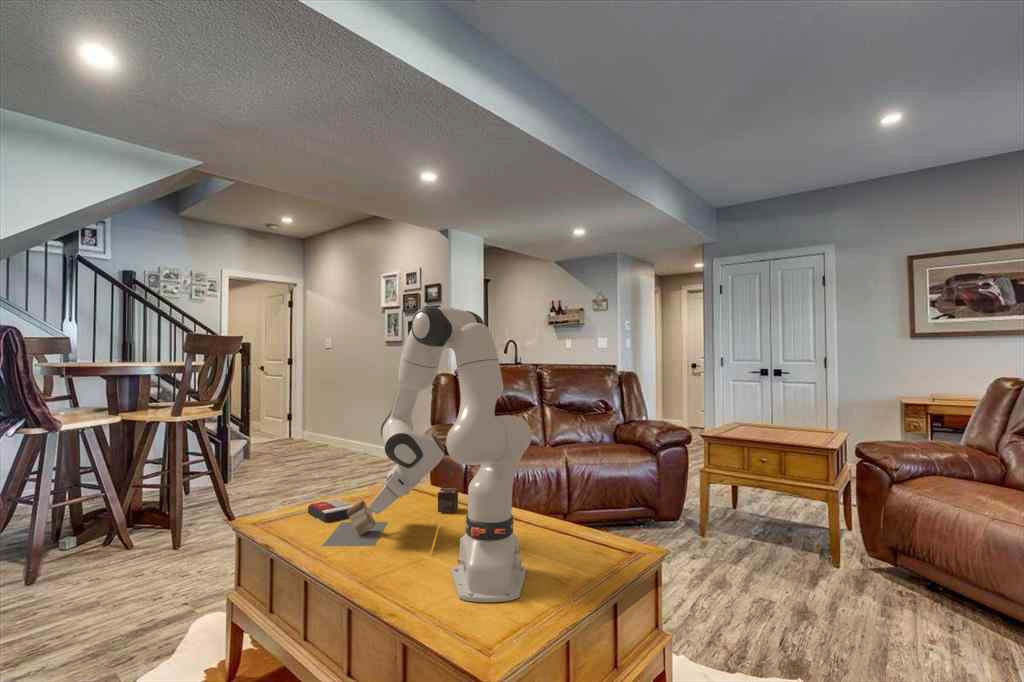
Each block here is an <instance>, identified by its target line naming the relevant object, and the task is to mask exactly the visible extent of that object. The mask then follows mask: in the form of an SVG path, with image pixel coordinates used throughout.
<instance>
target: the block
mask: <svg viewBox="0 0 1024 682" xmlns="http://www.w3.org/2000/svg"><path fill="white" fill-rule="evenodd" d="M367 509H368V506H367V504H366V502H365V501H364V500H361V501H359V502H357V503H355V504H353V506H352V507H351V508H350V509H349V510H348V511H347V512H346V513H347V515H348V516H349V518H348V519H349V520H350V522H352V523H353V525H354V527H355V529H356V530H357V532H358V534H359V536H360V535H362V534H363V533H365V532H367V531H369V530H370V529H372V528H373V527H374V526H375V524H376V522H377V521H376V520H375V518H374V517H373V515H372V514H370V515H368V514H367V513H366V510H367Z"/></svg>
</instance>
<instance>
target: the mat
mask: <svg viewBox="0 0 1024 682" xmlns="http://www.w3.org/2000/svg"><path fill="white" fill-rule="evenodd" d="M375 522H376V524H375V526H374V527H373V528H372V529H370V530H369V531H367V532H365V533H363V534H362V535H360V536H359V534H358V532H357V530H356V529H355V527H354V525H353V523H352V522H351V521H341V523H339V525H338V526H337V527H336V529H335V530H334V531H333V532H332V533H331V535H330V536H329V537H328V538H326V540H325V541H324V542H323V544H322V546H321V547H351V546H352V547H357V546H358V547H359V546H360V547H371V546H372V547H375V546H376V544H377V542H378V541H379V539H380V537H381V536H382V534H383V532H384V530H385V528H386V526H387V525H388V523H389V522H388V521H375Z"/></svg>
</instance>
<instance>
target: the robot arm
mask: <svg viewBox="0 0 1024 682" xmlns="http://www.w3.org/2000/svg"><path fill="white" fill-rule="evenodd" d="M410 326H411V327H410V328H411V329H410V331H409V334H408V336H407V338H406V341H405V343H404V345H403V348H402V351H401V356H400V360H399V367H398V380H397V381H398V384H397V390H396V394H395V398H394V400H393V404H392V408H391V411H390V413H389V414H388V415H387V417H386V418H385V419H384V421H383V422H382V424H381V427H380V437H381V439H382V443H383V444H382V445H383V450H384V452H385V455H386V456H387V458H388V459H390V461H392V462H394V463H395V465H394V466H393V467H392V468H391V469H390V470H389V471H388V472H387V474H386V476H387V478H386V480H385V483H384V486H383V487H382V488H381V490H380V491H379V492H378V493H377V494H376V496H375V497H374V498H373V500H372V501H371V502H370V503H369V505H368V506H367V508H368V509H367V510H366V513H367V514H368V515H370V514H371V515H372V514H373V513H374V514H375V515H379V514H381V513H382V512H384V510H386V509H387V508H388V507H390V506H391V505H392V504H394V502H396V500H398V499H402V498H403V497H404V496H405V495H408V494H409V493H411V491H412V490H413V489H415V488H416V486H418V484H420V482H421V481H422V479H423V478H424V477H425V476H426V475H428V474H430V473H431V472H432V471H433V470H434V469H435V468H436V467H437V466H438V465H439V464H440V462H441V460H442V459H443V458H444V456H445V449H444V446H443V444H442V442H441V441H440V440H439V438H438V437H437V436H436V435H434V433H429V434H425V433H420V432H417V431H415V430H414V425H413V421H412V415H413V411H414V408H415V405H416V400H417V397H418V395H419V394H420V392H423V391H426V390H427V389H430V387H432V385H433V384H434V383H433V382H434V381H435V379H436V376H437V374H438V371H439V367H440V362H441V358H442V354H443V352H444V350H445V349H451V350H453V352H454V355H455V362H456V370H457V375H458V383H459V391H460V405H459V410H458V411H459V412H458V414H457V416H456V417H457V418H456V420H455V422H454V424H453V425H452V427H451V428H450V429H449V430H448V432H447V434H446V435H447V436H446V439H445V440H446V442H445V444H446V450H447V451H446V452H447V454H448V455H449V457H450V459H451V460H452V461H454V462H455V463H456V464H459V465H465V466H477V465H480V467H479V469H478V471H477V473H476V474H475V475H474V476H473V478H472V479H471V481H470V482H469V485H468V488H467V489H468V491H467V492H468V493H467V514H466V516H465V518H466V519H465V533H464V534H463V535H462V536H461V537H460V539H459V558H458V560H457V562H458V565H456V566H453V567H451V572H450V573H451V576H452V580H453V583H454V587H455V589H456V593H457V594H456V595H457V597H458V599H460V600H463V601H467V602H475V603H500V602H508V601H513V600H516V599H519V598H520V597H521V595H522V590H523V586H524V583H525V578H526V575H527V567H526V566H525V565H522V558H521V557H519V554H520V553H521V547H519V537H518V536H517V535H515V533H514V521H515V520H514V515H513V513H512V510H513V509H512V508H513V507H512V505H513V503H512V502H513V487H514V480H515V477H516V473H517V469H518V466H519V465H520V461H521V459H522V457H523V455H524V454H525V452H526V451H527V449H528V448H529V447H530V445H531V442H532V430H531V426H530V425H529V423H528V421H526V420H525V419H524V418H522V417H521V416H515V415H508V414H506V415H498V416H496V415H495V413H496V412H495V411H496V404H497V401H498V399H499V398H500V397H501V396H502V394H503V392H504V383H503V378H502V377H503V375H502V371H501V366H500V365H501V364H500V360H499V355H498V352H497V351H498V350H497V347H496V344H495V340H494V338H493V334H492V332H491V330H490V328H489V327H488V326H487V325H485V323H484V321H483V319H482V317H481V316H480V315H478V314H477V313H475V312H473V311H469V310H462V309H457V308H454V307H449V306H436V305H435V306H433V305H432V306H429V305H428V306H423V307H421V308H419V309H418V310H416V312H414V314H413V317H412V320H411V325H410Z"/></svg>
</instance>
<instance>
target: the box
mask: <svg viewBox="0 0 1024 682" xmlns="http://www.w3.org/2000/svg"><path fill="white" fill-rule="evenodd" d="M458 509H459V488H458V487H441V488H440V489H439V491H438V492H437V513H441V514H453V513H455V514H456V512H457V510H458Z"/></svg>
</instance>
